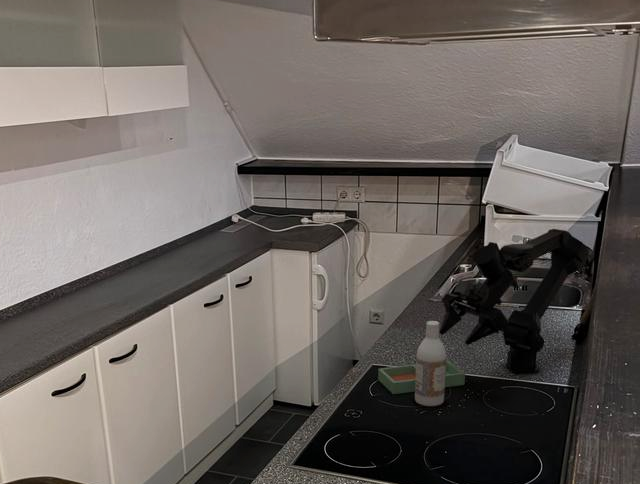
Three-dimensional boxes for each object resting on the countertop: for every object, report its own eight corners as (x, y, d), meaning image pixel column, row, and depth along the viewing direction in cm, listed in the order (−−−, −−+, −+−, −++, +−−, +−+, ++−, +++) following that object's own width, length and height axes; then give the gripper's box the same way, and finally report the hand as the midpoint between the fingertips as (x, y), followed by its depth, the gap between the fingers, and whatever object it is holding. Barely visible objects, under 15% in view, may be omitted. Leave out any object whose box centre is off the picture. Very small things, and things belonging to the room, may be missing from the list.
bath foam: (428, 409, 180) (432, 329, 172) (408, 400, 185) (411, 321, 178) (450, 402, 183) (454, 323, 176) (429, 393, 189) (433, 316, 181)
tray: (446, 370, 202) (447, 359, 201) (464, 384, 193) (465, 373, 192) (378, 379, 198) (378, 368, 197) (393, 394, 189) (393, 382, 188)
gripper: (450, 261, 188) (411, 309, 187) (505, 275, 173) (463, 328, 171) (471, 289, 194) (434, 336, 193) (526, 306, 179) (486, 357, 177)
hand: (452, 338), depth 183 cm, fingers open, 9 cm apart
